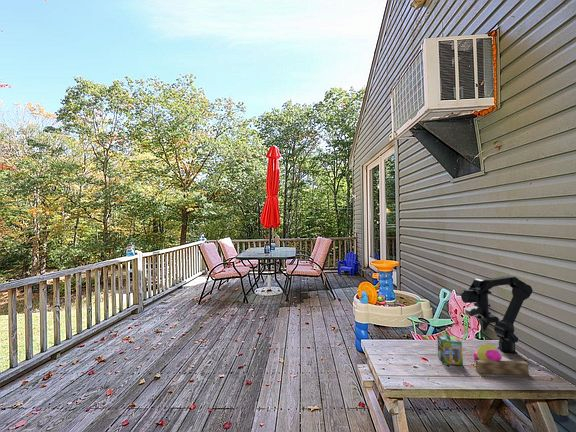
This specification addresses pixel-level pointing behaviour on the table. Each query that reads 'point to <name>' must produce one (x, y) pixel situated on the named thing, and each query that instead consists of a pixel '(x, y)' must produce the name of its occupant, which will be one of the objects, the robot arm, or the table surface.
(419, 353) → the table surface
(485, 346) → the toy
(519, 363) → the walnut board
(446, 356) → the chalk box
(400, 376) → the table surface
